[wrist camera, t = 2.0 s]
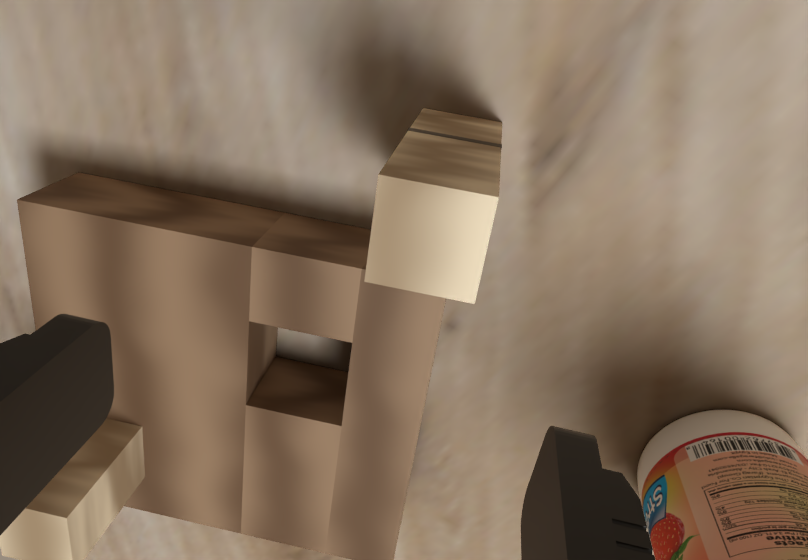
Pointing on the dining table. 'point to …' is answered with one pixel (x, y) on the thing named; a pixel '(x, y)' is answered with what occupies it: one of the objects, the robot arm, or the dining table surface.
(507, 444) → the dining table surface
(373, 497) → the seat board
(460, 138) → the peg
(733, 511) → the fruit juice
